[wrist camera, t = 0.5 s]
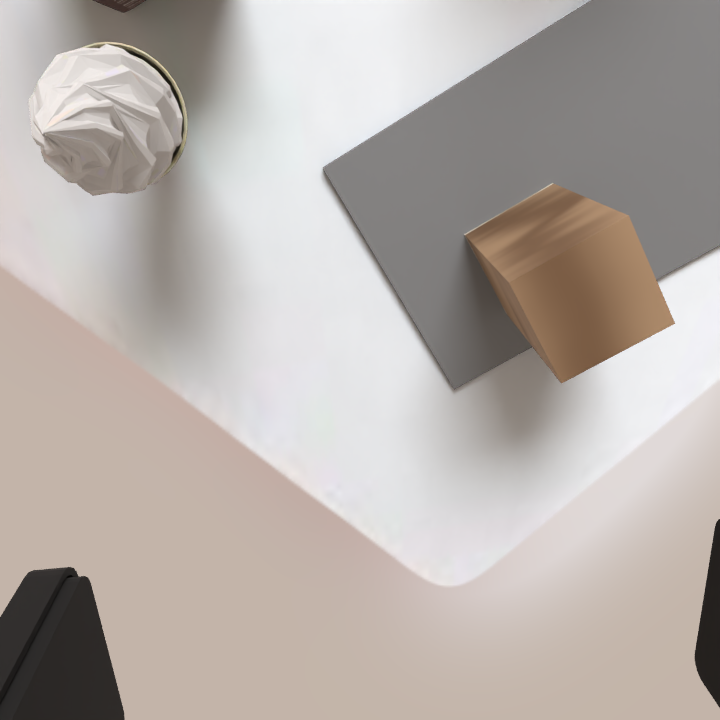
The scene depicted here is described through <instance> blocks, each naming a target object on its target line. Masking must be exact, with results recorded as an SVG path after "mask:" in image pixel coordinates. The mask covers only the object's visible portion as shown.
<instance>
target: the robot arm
mask: <svg viewBox="0 0 720 720" xmlns="http://www.w3.org/2000/svg"><path fill="white" fill-rule="evenodd" d="M695 663H696V667H697V671H698V674H699V676H700V678H701V680H702V682H703V683H704V685H705V686H706V688H707V689H708V691H709V692H710V694H711V695H712V697H713V698H714V700H715V701H716V703H717V704H718V706H719V707H720V519H719V520H718V521H717V523H716V526H715V531H714V537H713V543H712V550H711V556H710V562H709V569H708V575H707V581H706V587H705V594H704V600H703V606H702V612H701V618H700V625H699V631H698V637H697V643H696V650H695ZM0 720H124V711H123V706H122V703H121V699H120V694H119V691H118V687H117V683H116V679H115V675H114V671H113V668H112V664H111V660H110V656H109V652H108V648H107V644H106V641H105V637H104V633H103V629H102V625H101V621H100V618H99V614H98V609H97V606H96V602H95V598H94V594H93V590H92V586H91V583H90V581H89V579H88V578H87V577H85V576H81V577H78V574H77V572H76V571H75V569H74V568H71V567H67V568H56V569H44V570H33V571H31V572H29V573H28V574H27V575H26V576H25V578H24V579H23V581H22V582H21V584H20V586H19V587H18V589H17V591H16V593H15V594H14V596H13V597H12V599H11V601H10V602H9V604H8V606H7V607H6V609H5V611H4V612H3V614H2V615H1V617H0Z"/></svg>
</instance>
